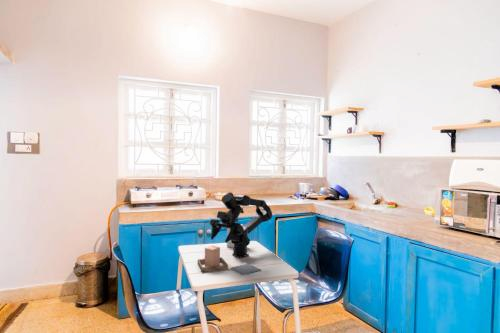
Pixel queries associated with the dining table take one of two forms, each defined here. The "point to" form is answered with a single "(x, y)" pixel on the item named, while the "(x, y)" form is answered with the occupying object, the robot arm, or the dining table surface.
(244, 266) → the slate pad
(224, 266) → the walnut well
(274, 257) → the dining table surface
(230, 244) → the supplement box
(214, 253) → the terracotta block
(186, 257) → the dining table surface
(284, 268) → the dining table surface
